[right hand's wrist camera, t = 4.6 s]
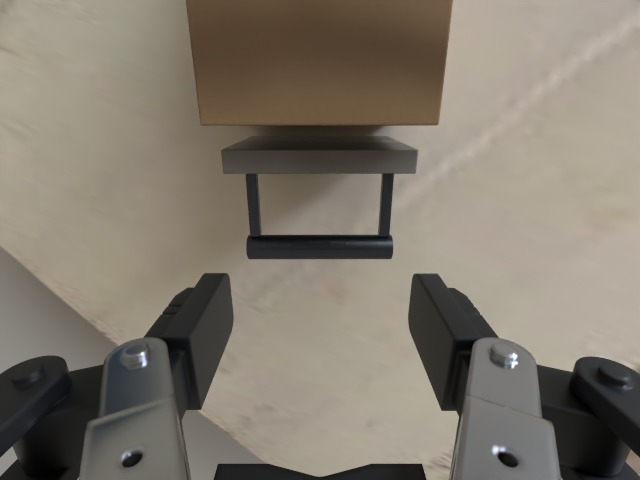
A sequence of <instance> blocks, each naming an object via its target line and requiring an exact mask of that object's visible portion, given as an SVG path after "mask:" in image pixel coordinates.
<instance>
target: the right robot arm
mask: <svg viewBox="0 0 640 480" xmlns="http://www.w3.org/2000/svg"><path fill="white" fill-rule="evenodd" d="M408 321H409V329H410V333H411V335H412V338H413V340H414V343H415V345H416V348H417V350H418V353H419V355H420V358H421V360H422V363H423V365H424V368H425V370H426V373H427V375H428V378H429V380H430V383H431V385H432V388H433V390H434V393H435V395H436V398H437V400H438V403H439V405H440V408H441V410H442V411H457V413H458V415H459V421H458V426H457V432H456V438H455V444H454V451H453V457H452V463H451V469H450V475H449V480H561V477H562V479H563V480H640V476H639V475H638V474H637V473H636V472H635V471H634V470H633V469H632V468H631V467H630V466H629V465H628V464H627V463H626V462H625V461H626V459H627V456H628V454H629V452H630V450H632V451H634V452H635V453H636V454H637V455H638V456H639V457H640V374H639V373H637V372H636V371H634V370H632V369H630V368H629V367H626V366H624V365H622V364H620V363H617V362H615V361H612V360H608V359H604V358H599V357H583V358H580V359H578V360H577V361H576V363H575V366H574V369H573V372H569V371H564V370H559V369H554V368H550V367H545V366H541V365H537V364H536V361H535V359H534V357H533V356H532V355H531V354H530V353H529V352H528V351H527V350H526V349H525V348H523V347H521V346H520V345H518V344H516V343H514V342H511V341H508V340H505V339H501V338H499V337H498V336H497V335H496V333H495V332H494V331H493V330H492V328H491V327H490V326H489V324H488V323H487V322H486V321H485V319H484V318H483V317H482V315H480V313H479V312H478V310H477V309H476V308H475V307H474V305H473V304H472V303H471V301H470V300H469V299H468V297H467V296H466V295H464V294H463V293H461V292H459V291H458V290H456V289H455V288H447V286H446V285H445V283H444V282H443V281H442V279H441V278H440V276H439V275H438V274H414V275H413V278H412V286H411V295H410V304H409V314H408ZM232 327H233V306H232V297H231V287H230V279H229V275H228V274H227V273H205V274H204V275H203V276H202V277H201V279H200V280H199V282H198V283H197V285H196V286H195V287H194V288H187V289H185V290H184V291H182V292H180V293H179V294H177V295H176V296H175V297H174V298H173V300H172V301H171V302H170V304H169V306H168V307H167V308H166V309H165V310H164V311H163V314H162V315H160V317H159V318H158V319H157V321H156V322H155V323H154V324H153V326H152V327H151V328H150V330H149V331H148V332H147V334H146V335H145V336H144V338H139V339H135V340H132V341H129V342H126V343H124V344H122V345H120V346H119V347H117V348H116V349H114V350H113V351H112V352H111V353H110V354H109V355H108V356H107V357H106V359H105V361H104V364H103V365H99V366H94V367H90V368H85V369H80V370H75V371H70V372H69V370H68V367H67V364H66V361H65V360H64V359H63V358H61V357H59V356H42V357H37V358H33V359H30V360H27V361H24V362H21V363H19V364H17V365H15V366H13V367H11V368H9V369H7V370H6V371H4V372H3V373H1V374H0V457H1V456H2V455H3V454H4V453H5V452H6V451H8V450H9V449H10V448H11V447H12V446H13V449H14V451H15V453H16V455H17V458H18V459H17V460H16V461H15V462H14V463H13V464H12V465H11V466H10V467H9V468H8V469H7V470H6V471H5V472H4V473H3V474H2V475H1V476H0V480H77V479H78V477H79V480H191V475H190V469H189V463H188V457H187V451H186V444H185V438H184V432H183V426H182V421H181V420H182V418H183V416H184V414H185V411H186V410H201V408H202V405H203V403H204V400H205V398H206V395H207V393H208V390H209V388H210V385H211V383H212V380H213V377H214V375H215V372H216V370H217V367H218V365H219V362H220V360H221V357H222V355H223V352H224V350H225V347H226V344H227V342H228V339H229V337H230V334H231V332H232ZM214 480H426V477H425V473H424V470H423V466H422V464H369V465H366V466H362V467H358V468H354V469H351V470H347V471H343V472H339V473H336V474H332V475H328V476H324V477H316V476H312V475H308V474H304V473H301V472H297V471H293V470H289V469H286V468H282V467H278V466H274V465H271V464H218V466H217V470H216V473H215V477H214Z"/></svg>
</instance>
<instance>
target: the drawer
mask: <svg viewBox="0 0 640 480" xmlns="http://www.w3.org/2000/svg"><path fill="white" fill-rule="evenodd" d="M221 152H222V162H223V172H224V174H246V185H247V198H248V211H249V224H250V235H249V236H248V238H247V256H248V259H391V258H392V255H393V240H392V236H391V235H389V231H390V218H391V205H392V191H393V178H394V174H401V173H416V166H417V155H418V150H417V149H414V148H412V147H410V146H408V145H405V144H403V143H401V142H399V141H396V140H394V139H392V138H390V137H387V136H252V137H250V138H248V139H246V140H243V141H241V142H239V143H237V144H234V145H232V146H230V147H227V148H225V149H223V150H221ZM258 174H382V181H381V197H380V213H379V229H378V234H379V235H261V220H260V204H259V189H258Z"/></svg>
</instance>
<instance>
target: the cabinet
mask: <svg viewBox="0 0 640 480" xmlns="http://www.w3.org/2000/svg"><path fill="white" fill-rule="evenodd" d="M452 4H453V0H186V5H187V14H188V22H189V31H190V39H191V48H192V56H193V64H194V73H195V81H196V90H197V98H198V107H199V115H200V123H201V125H203V126H215V125H438V124H439V117H440V108H441V99H442V91H443V82H444V74H445V65H446V56H447V48H448V39H449V30H450V22H451V13H452Z"/></svg>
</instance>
